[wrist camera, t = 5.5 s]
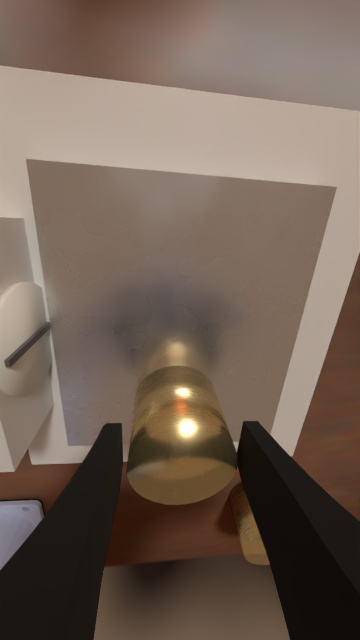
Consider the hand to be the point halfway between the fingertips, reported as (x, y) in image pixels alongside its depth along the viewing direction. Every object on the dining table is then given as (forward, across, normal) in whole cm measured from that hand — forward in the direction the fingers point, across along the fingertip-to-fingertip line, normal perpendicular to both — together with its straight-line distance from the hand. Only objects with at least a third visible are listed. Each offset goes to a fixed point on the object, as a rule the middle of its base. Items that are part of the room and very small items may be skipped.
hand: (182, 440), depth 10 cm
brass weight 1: (+3, 0, +1) cm, 3 cm away
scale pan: (+4, 0, -3) cm, 5 cm away
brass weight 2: (+6, -8, +14) cm, 17 cm away
